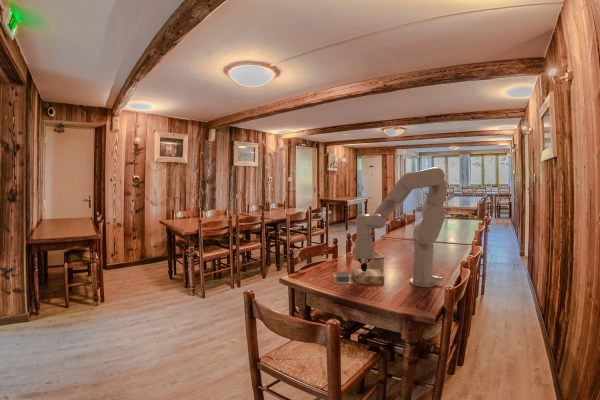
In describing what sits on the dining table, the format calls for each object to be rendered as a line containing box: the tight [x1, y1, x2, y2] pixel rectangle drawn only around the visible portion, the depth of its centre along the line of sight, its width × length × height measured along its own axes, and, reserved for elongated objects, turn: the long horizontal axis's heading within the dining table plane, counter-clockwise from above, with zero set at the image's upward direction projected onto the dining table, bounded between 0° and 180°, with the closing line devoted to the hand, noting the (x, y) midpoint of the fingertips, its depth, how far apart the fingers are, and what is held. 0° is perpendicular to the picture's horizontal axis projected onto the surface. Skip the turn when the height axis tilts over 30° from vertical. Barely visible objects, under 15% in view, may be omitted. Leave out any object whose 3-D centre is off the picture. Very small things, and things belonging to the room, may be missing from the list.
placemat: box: [332, 273, 355, 285], centre depth 170 cm, size 10×15×1 cm, turn 178°
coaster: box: [335, 271, 350, 281], centre depth 170 cm, size 6×9×2 cm, turn 177°
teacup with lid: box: [363, 251, 385, 273], centre depth 186 cm, size 12×9×12 cm
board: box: [351, 268, 385, 285], centre depth 169 cm, size 15×13×4 cm
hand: (364, 270), depth 169 cm, fingers closed
